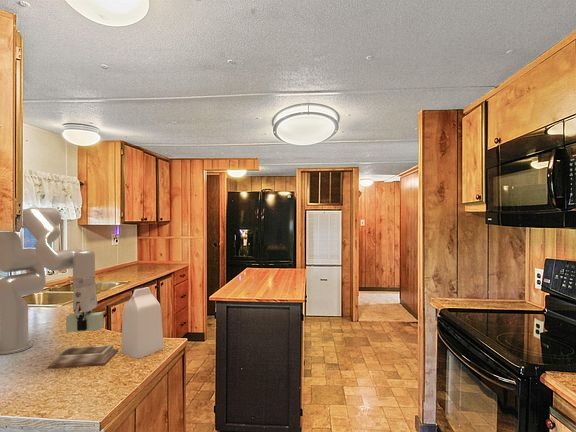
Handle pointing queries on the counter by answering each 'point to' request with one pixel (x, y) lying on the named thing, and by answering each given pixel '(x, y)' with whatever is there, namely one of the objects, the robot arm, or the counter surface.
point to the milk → (142, 325)
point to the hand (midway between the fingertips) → (85, 327)
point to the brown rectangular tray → (83, 356)
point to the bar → (93, 322)
